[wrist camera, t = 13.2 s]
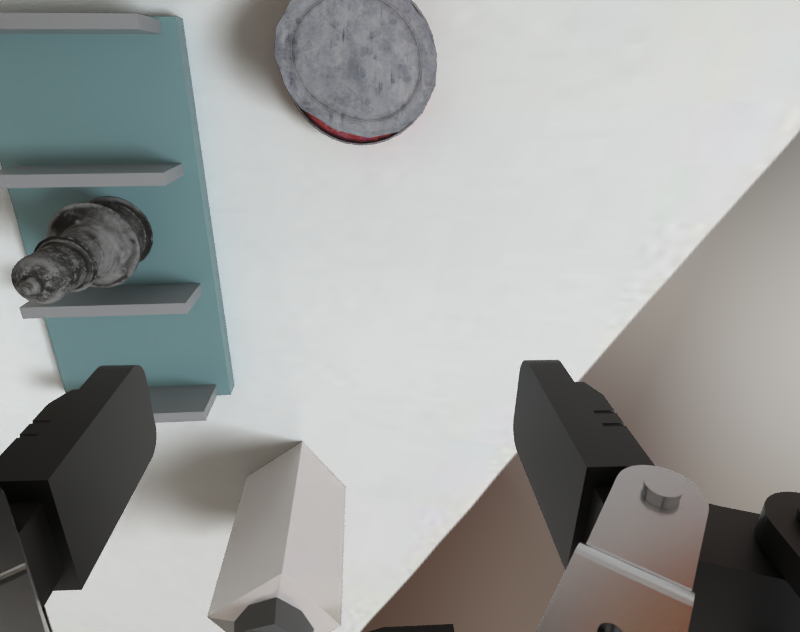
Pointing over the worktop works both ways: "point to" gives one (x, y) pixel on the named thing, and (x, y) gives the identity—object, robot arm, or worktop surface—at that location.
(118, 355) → the rack
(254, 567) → the soap dispenser
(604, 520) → the robot arm
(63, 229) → the grey chess piece
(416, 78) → the canned food
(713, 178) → the worktop surface
